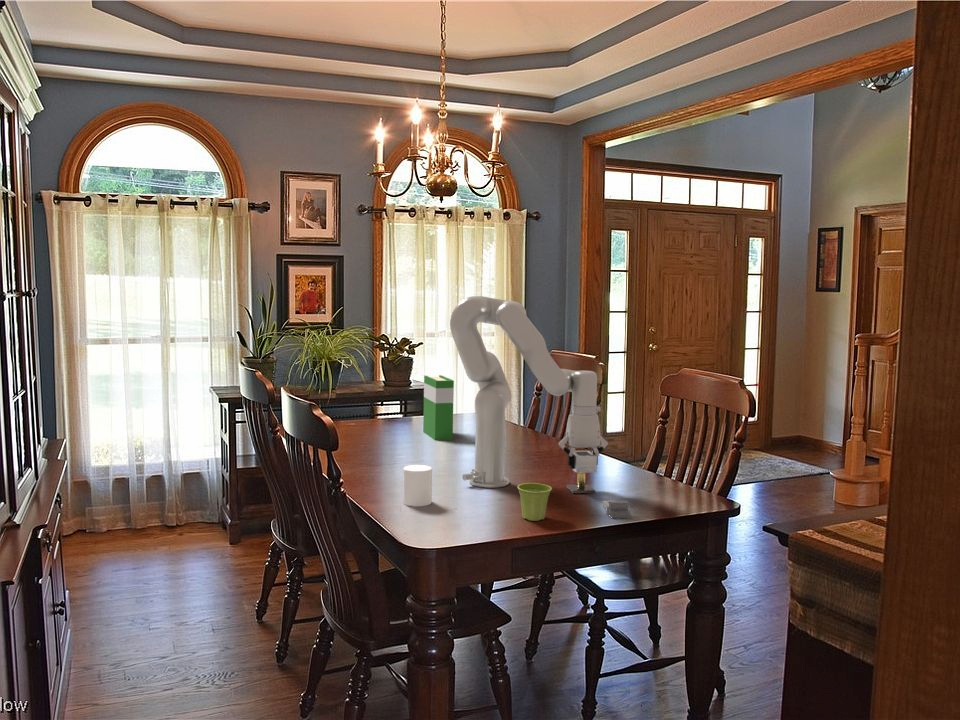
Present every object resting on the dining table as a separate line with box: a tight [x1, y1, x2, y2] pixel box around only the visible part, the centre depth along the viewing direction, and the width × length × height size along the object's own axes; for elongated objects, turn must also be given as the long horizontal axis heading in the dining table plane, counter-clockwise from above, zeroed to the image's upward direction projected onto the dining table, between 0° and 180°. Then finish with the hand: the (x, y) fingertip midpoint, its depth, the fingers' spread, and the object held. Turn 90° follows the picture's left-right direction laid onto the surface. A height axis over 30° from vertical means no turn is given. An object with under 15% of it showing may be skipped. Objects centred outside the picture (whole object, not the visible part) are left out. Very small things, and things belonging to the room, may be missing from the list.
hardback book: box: [422, 374, 455, 441], centre depth 336 cm, size 18×7×24 cm, turn 19°
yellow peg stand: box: [566, 473, 596, 494], centre depth 254 cm, size 7×7×8 cm
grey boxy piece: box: [606, 500, 631, 519], centre depth 228 cm, size 5×5×4 cm
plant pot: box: [517, 482, 553, 522], centre depth 224 cm, size 9×9×9 cm
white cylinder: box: [402, 464, 433, 508], centre depth 238 cm, size 8×10×12 cm
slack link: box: [602, 500, 610, 510], centre depth 236 cm, size 6×4×2 cm, turn 9°
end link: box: [571, 450, 598, 474], centre depth 254 cm, size 8×6×5 cm
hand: (582, 467), depth 254 cm, fingers closed on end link, 6 cm apart
